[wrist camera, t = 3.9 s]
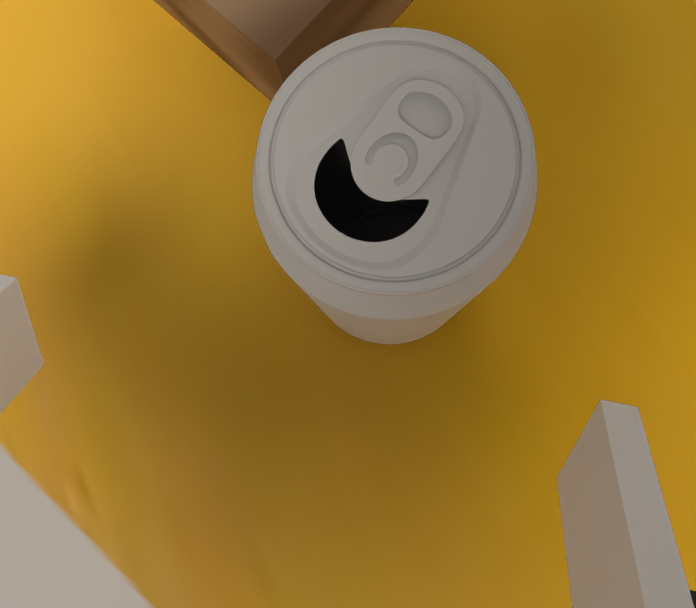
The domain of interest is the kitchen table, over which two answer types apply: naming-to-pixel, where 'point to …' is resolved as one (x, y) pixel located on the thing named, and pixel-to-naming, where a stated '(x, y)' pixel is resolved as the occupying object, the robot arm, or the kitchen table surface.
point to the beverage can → (394, 180)
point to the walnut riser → (277, 30)
